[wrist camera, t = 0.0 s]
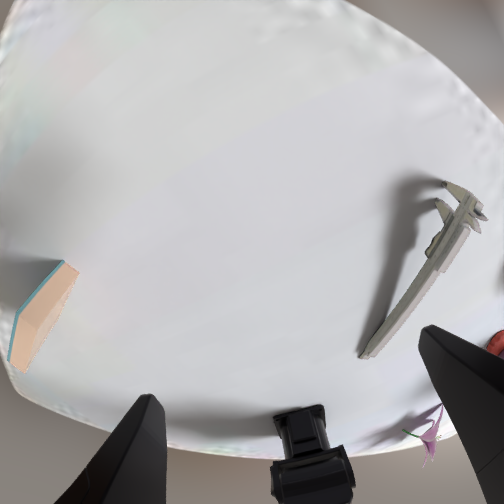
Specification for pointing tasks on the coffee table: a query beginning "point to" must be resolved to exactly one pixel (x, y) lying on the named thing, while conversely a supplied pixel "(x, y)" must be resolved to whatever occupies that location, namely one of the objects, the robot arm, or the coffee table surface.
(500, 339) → the stacking bear
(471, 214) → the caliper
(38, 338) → the tile
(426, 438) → the lily
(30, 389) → the coffee table surface
